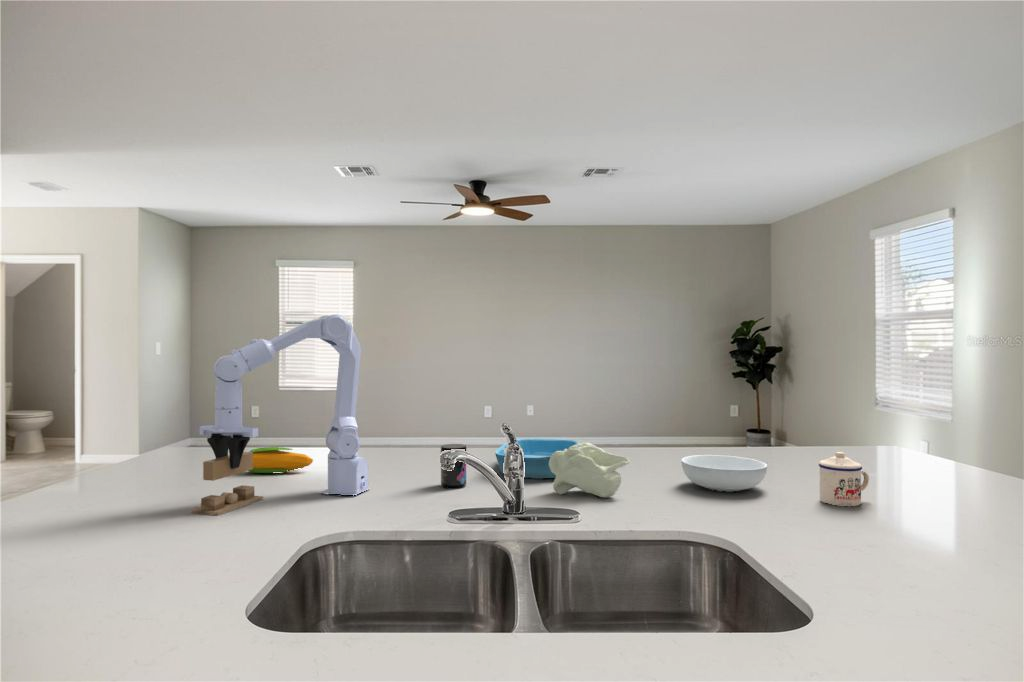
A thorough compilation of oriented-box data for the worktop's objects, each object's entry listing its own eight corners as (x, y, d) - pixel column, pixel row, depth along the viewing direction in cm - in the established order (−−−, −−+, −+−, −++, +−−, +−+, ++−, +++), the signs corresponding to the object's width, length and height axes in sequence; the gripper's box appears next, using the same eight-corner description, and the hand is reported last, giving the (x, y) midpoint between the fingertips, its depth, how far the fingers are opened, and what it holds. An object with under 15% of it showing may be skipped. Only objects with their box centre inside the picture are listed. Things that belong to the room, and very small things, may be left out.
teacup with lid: (836, 508, 146) (836, 456, 146) (810, 498, 155) (810, 449, 155) (882, 505, 149) (882, 454, 148) (854, 496, 157) (854, 448, 157)
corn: (245, 444, 187) (316, 443, 189) (246, 470, 188) (316, 469, 190) (236, 450, 180) (310, 449, 182) (237, 477, 181) (310, 476, 182)
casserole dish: (513, 457, 210) (513, 435, 210) (581, 459, 206) (581, 437, 206) (487, 481, 174) (487, 455, 174) (570, 485, 170) (570, 458, 170)
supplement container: (454, 490, 163) (454, 449, 163) (435, 486, 167) (435, 446, 167) (472, 485, 169) (471, 445, 169) (452, 482, 173) (452, 443, 173)
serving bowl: (780, 498, 156) (780, 469, 156) (692, 498, 156) (692, 469, 156) (750, 479, 176) (750, 454, 176) (673, 479, 177) (673, 453, 177)
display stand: (263, 498, 154) (263, 485, 154) (218, 515, 140) (217, 501, 140) (238, 496, 156) (238, 484, 156) (191, 512, 142) (191, 498, 142)
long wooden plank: (252, 469, 154) (252, 452, 154) (213, 480, 142) (213, 462, 142) (242, 468, 155) (242, 451, 155) (202, 479, 142) (202, 461, 142)
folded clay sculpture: (605, 518, 162) (631, 461, 165) (604, 518, 150) (632, 457, 152) (541, 485, 167) (567, 430, 169) (535, 482, 155) (563, 424, 157)
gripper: (189, 408, 146) (189, 468, 146) (243, 410, 142) (243, 472, 142) (212, 405, 153) (212, 463, 153) (264, 407, 149) (264, 466, 149)
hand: (228, 467), depth 148 cm, fingers closed on long wooden plank, 3 cm apart
